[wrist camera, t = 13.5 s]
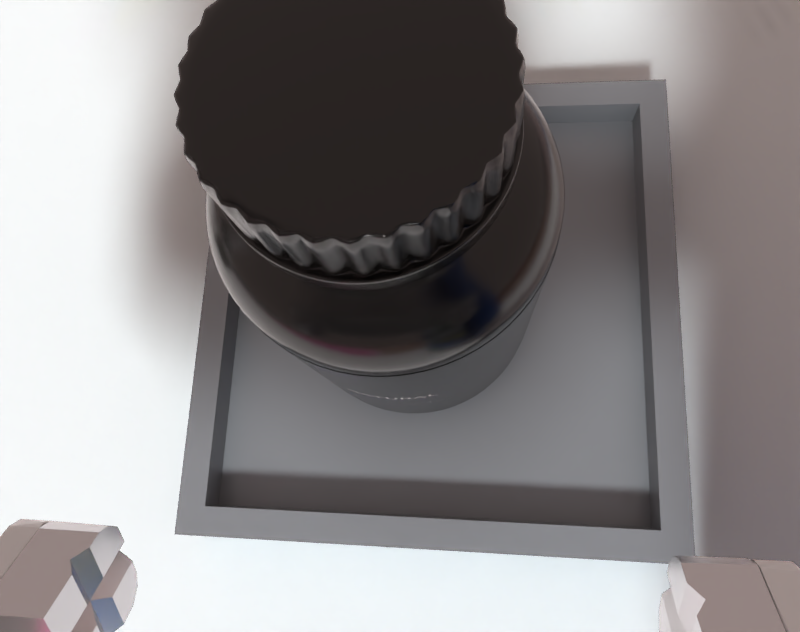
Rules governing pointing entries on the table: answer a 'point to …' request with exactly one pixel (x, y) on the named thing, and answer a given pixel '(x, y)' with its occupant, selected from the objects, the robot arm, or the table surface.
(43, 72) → the table surface
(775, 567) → the robot arm
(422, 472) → the tray
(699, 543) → the table surface
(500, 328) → the supplement bottle
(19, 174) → the table surface
